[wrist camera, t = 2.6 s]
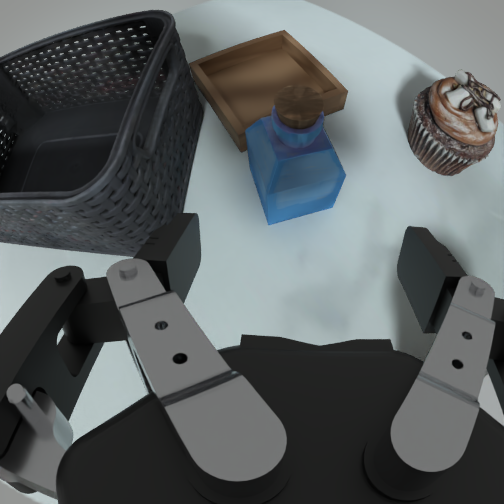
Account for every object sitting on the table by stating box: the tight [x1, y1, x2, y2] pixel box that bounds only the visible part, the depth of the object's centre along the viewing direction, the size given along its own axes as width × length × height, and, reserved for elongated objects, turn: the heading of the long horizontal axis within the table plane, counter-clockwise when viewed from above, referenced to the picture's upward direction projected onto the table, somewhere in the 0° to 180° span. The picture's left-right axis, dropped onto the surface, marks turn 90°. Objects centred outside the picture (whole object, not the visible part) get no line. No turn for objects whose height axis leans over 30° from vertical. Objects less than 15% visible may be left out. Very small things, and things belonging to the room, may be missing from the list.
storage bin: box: [0, 10, 203, 257], centre depth 26 cm, size 29×19×13 cm
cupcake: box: [408, 70, 501, 176], centre depth 26 cm, size 10×10×10 cm
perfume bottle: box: [245, 85, 346, 225], centre depth 24 cm, size 6×6×12 cm
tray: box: [189, 30, 348, 152], centre depth 32 cm, size 13×13×3 cm
